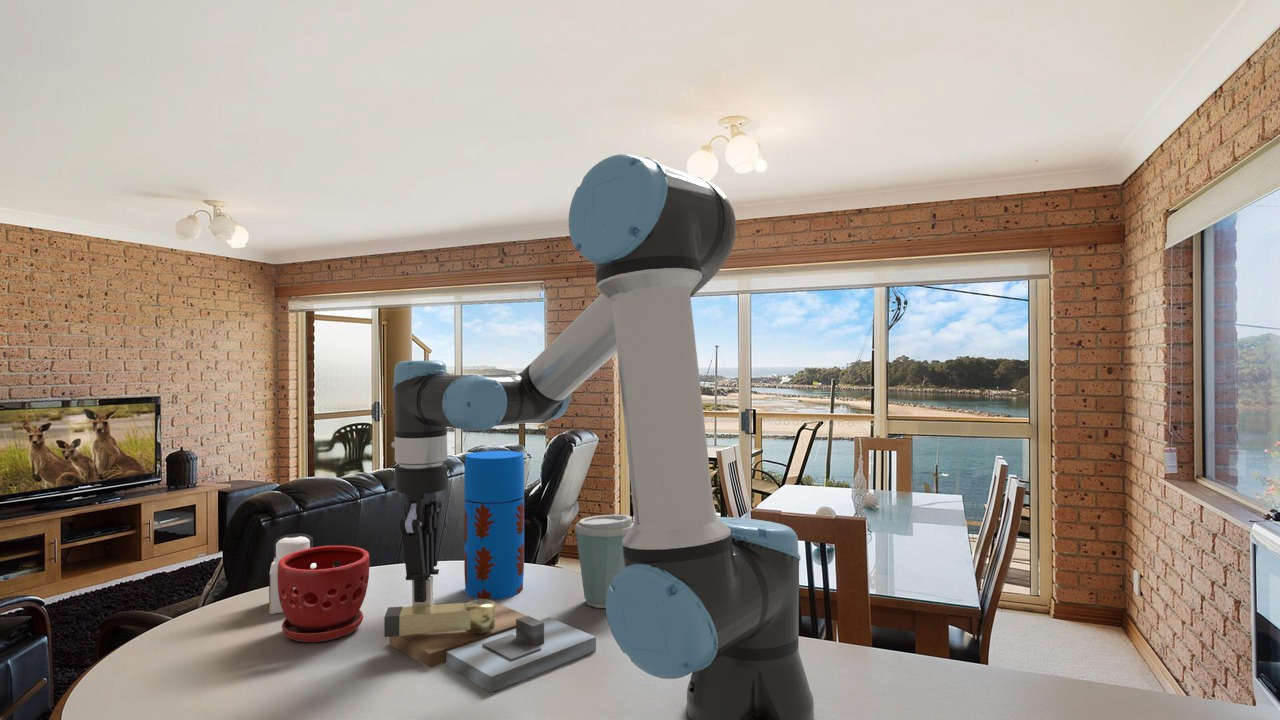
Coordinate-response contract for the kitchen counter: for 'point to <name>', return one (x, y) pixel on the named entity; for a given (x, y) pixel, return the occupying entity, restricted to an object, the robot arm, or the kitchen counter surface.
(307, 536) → the medicine bottle
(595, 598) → the disposable coffee cup
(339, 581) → the plant pot
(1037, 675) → the kitchen counter surface
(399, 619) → the swing bar
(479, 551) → the thermos
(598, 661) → the kitchen counter surface
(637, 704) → the kitchen counter surface
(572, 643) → the door and jamb
